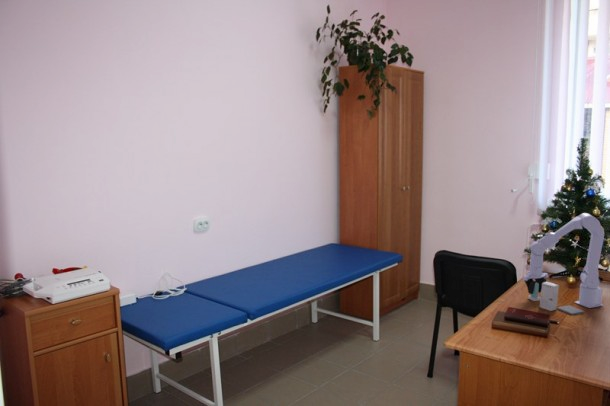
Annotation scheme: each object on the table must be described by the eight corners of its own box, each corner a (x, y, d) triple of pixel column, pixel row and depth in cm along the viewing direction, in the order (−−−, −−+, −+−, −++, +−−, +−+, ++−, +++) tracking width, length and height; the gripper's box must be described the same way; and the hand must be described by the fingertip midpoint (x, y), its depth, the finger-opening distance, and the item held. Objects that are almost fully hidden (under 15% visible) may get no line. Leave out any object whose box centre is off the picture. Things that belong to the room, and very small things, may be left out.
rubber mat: (569, 306, 221) (569, 305, 220) (584, 312, 213) (584, 311, 213) (556, 309, 218) (556, 307, 218) (571, 315, 210) (572, 313, 210)
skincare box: (539, 307, 220) (541, 282, 218) (544, 305, 222) (546, 281, 221) (551, 311, 215) (553, 286, 213) (557, 309, 217) (559, 284, 215)
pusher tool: (533, 297, 234) (534, 281, 232) (540, 300, 230) (541, 283, 229) (527, 298, 232) (528, 282, 231) (534, 301, 228) (535, 284, 227)
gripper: (540, 262, 235) (538, 288, 237) (518, 265, 230) (516, 292, 232) (552, 266, 228) (550, 292, 230) (530, 269, 223) (528, 296, 225)
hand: (534, 292), depth 231 cm, fingers open, 4 cm apart
